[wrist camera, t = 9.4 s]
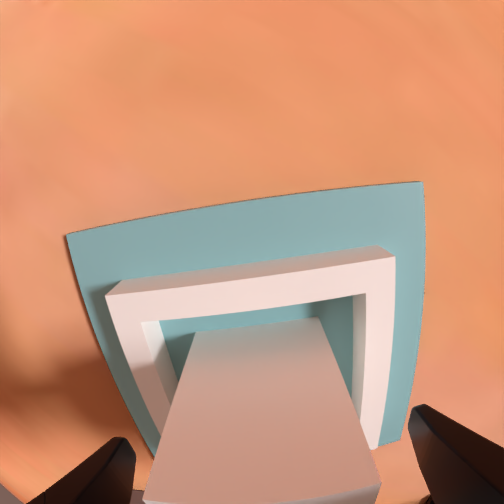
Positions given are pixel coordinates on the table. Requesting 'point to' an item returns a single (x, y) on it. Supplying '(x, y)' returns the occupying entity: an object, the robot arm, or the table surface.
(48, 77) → the table surface
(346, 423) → the plug block
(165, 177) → the table surface
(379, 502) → the table surface
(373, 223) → the socket
